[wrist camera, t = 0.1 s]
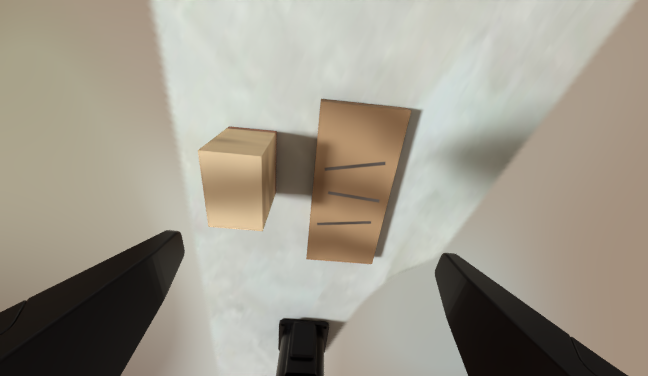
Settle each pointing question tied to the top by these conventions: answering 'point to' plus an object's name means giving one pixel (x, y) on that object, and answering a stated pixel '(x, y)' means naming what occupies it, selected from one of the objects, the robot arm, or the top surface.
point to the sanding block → (239, 177)
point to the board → (353, 178)
